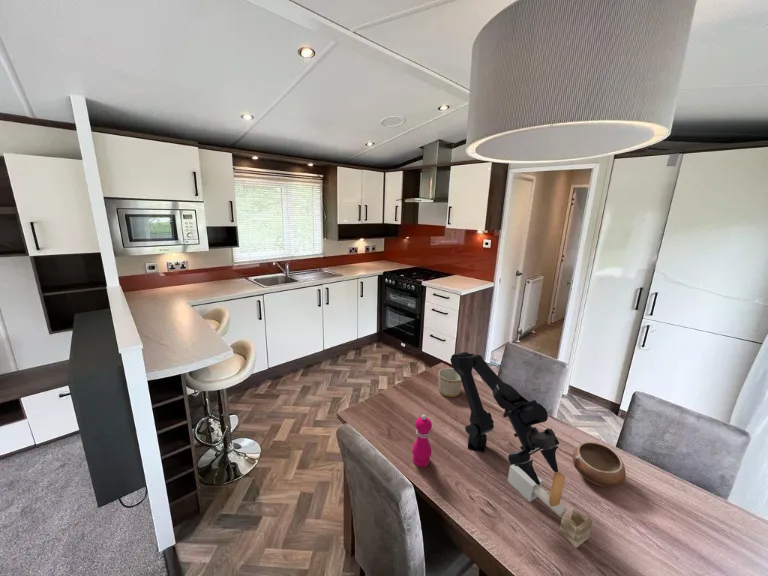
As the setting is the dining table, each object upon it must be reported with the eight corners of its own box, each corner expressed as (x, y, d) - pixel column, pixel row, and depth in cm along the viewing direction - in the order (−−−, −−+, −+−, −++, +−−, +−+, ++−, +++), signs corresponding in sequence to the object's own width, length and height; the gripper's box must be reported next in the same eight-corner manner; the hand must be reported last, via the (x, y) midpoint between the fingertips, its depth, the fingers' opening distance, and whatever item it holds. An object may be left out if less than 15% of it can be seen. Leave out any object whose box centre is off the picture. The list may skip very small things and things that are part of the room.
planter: (436, 384, 168) (437, 367, 166) (459, 386, 167) (461, 368, 164) (438, 398, 156) (439, 379, 153) (463, 400, 155) (465, 381, 152)
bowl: (563, 472, 113) (567, 449, 111) (580, 453, 122) (585, 431, 120) (613, 504, 101) (619, 479, 99) (628, 480, 110) (634, 457, 108)
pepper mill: (430, 469, 113) (433, 423, 108) (410, 466, 114) (413, 420, 109) (431, 454, 120) (434, 410, 115) (412, 451, 121) (415, 407, 116)
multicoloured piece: (515, 478, 107) (519, 448, 104) (520, 475, 108) (525, 445, 105) (558, 518, 93) (566, 485, 90) (564, 514, 95) (572, 481, 92)
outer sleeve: (507, 481, 109) (509, 466, 107) (517, 475, 111) (519, 461, 109) (529, 502, 101) (532, 486, 99) (539, 495, 103) (542, 480, 102)
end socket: (559, 531, 92) (562, 514, 90) (571, 522, 95) (575, 505, 93) (576, 548, 88) (580, 530, 86) (588, 537, 90) (592, 520, 89)
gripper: (520, 432, 93) (548, 490, 86) (558, 414, 102) (586, 465, 95) (497, 437, 102) (521, 490, 95) (534, 421, 110) (558, 468, 104)
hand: (548, 478), depth 97 cm, fingers open, 9 cm apart
